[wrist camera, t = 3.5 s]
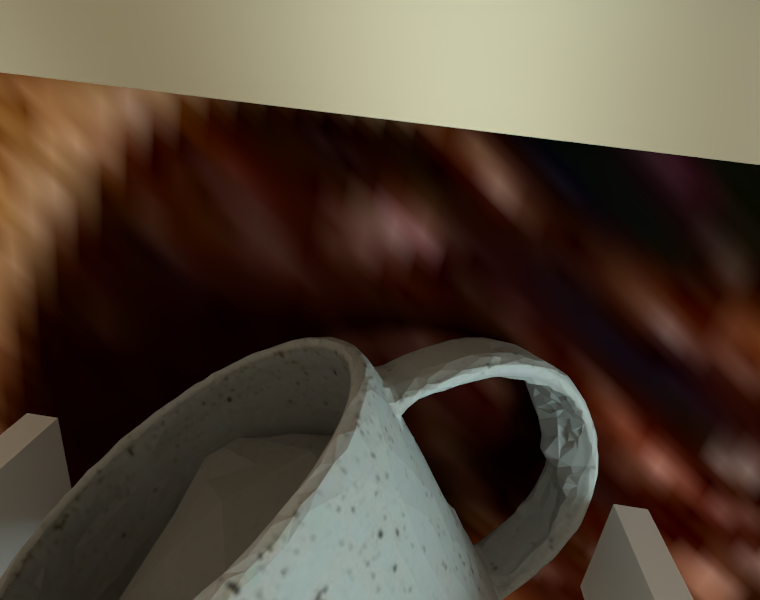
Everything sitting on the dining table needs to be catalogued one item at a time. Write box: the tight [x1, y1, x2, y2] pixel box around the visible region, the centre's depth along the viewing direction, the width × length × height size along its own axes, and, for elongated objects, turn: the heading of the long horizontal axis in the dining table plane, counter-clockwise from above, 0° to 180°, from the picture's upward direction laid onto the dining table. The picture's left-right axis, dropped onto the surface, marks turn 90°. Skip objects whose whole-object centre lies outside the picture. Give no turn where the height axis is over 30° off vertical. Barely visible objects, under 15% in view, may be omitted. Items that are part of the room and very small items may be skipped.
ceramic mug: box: [0, 337, 598, 600], centre depth 10 cm, size 11×8×8 cm
